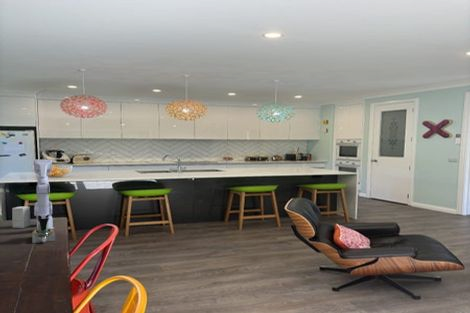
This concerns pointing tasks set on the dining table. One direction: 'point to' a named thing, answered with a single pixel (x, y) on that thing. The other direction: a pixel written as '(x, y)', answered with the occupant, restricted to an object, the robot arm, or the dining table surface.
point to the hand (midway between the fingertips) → (43, 229)
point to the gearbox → (43, 236)
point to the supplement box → (21, 217)
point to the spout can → (40, 228)
